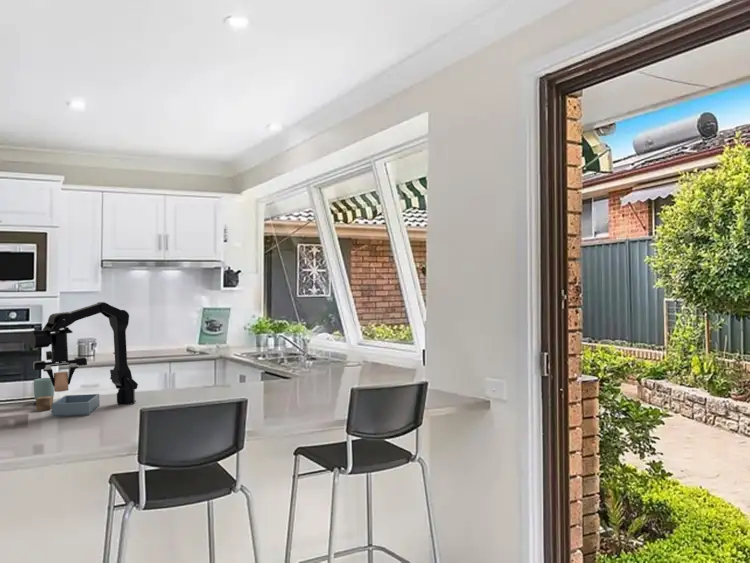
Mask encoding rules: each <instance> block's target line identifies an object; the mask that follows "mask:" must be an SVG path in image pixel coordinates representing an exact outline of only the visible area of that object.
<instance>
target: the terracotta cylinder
mask: <svg viewBox="0 0 750 563" xmlns="http://www.w3.org/2000/svg"><path fill="white" fill-rule="evenodd" d="M68 372H69V371H56V372H53V377H54V384H55V386H54V393H56V392H57V393H58V392H59V393H60V392H67V391H69V385H68Z"/></svg>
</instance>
